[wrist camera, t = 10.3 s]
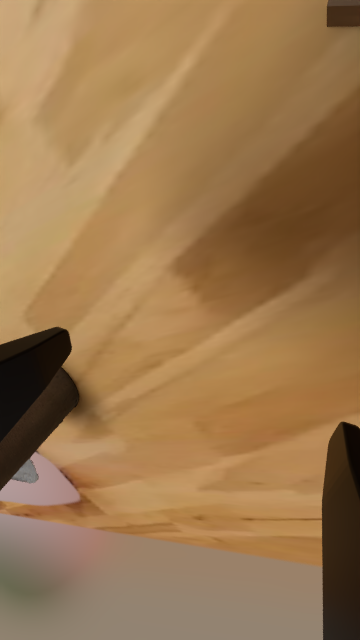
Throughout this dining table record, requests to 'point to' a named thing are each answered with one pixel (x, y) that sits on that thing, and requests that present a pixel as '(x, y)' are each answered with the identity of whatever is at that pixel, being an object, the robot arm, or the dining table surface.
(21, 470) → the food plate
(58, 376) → the pillar candle
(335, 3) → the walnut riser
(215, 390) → the dining table surface
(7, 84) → the dining table surface
